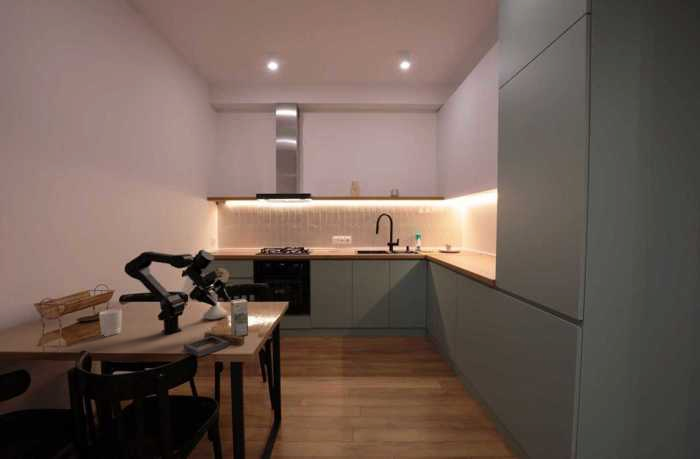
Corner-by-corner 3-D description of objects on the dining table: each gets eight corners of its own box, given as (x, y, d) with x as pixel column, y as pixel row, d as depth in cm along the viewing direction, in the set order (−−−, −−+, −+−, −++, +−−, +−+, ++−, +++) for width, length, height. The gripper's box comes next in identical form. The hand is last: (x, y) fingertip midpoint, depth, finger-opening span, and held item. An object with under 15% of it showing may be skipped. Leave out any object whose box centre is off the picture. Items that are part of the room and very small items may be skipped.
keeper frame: (184, 349, 115) (183, 344, 115) (213, 340, 123) (213, 335, 123) (198, 357, 107) (197, 351, 107) (228, 346, 116) (228, 341, 116)
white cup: (126, 332, 137) (125, 309, 137) (106, 338, 130) (105, 314, 130) (116, 330, 141) (115, 308, 140) (96, 335, 133) (95, 313, 133)
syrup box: (244, 331, 133) (243, 298, 133) (248, 334, 129) (247, 300, 128) (231, 334, 130) (229, 300, 130) (234, 338, 125) (233, 302, 125)
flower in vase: (200, 322, 148) (198, 271, 147) (205, 315, 159) (203, 267, 158) (229, 319, 151) (227, 269, 151) (232, 313, 162) (230, 266, 162)
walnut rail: (204, 338, 126) (204, 332, 126) (207, 337, 127) (207, 331, 127) (241, 345, 117) (240, 338, 117) (244, 343, 119) (243, 337, 119)
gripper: (194, 266, 122) (220, 294, 120) (222, 260, 141) (245, 285, 139) (178, 286, 124) (203, 313, 122) (208, 277, 142) (230, 302, 140)
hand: (222, 302), depth 131 cm, fingers open, 9 cm apart
